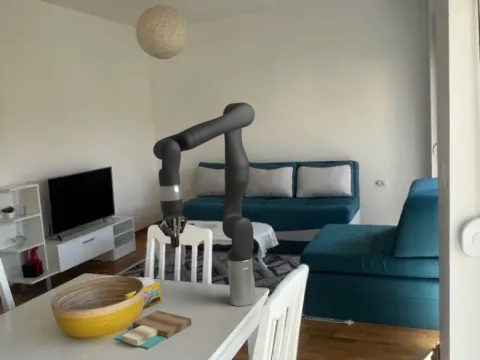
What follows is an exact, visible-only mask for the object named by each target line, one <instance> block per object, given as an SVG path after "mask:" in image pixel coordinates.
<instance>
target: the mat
mask: <svg viewBox="0 0 480 360" xmlns="http://www.w3.org/2000/svg"><path fill="white" fill-rule="evenodd" d="M133 329H134V328H133V327H132V328H131V329H130V330H127V331H125V332H124V333H122V334H120V335H117V336H116V337H115V338H114V339H115V340H116V341H119V342H120V341H121V342H122V335H124V334H126V333H128V332H130V331H132V330H133ZM166 339H167V338H166V337H163V336H159V335H156V336H155V337H153V338H151V339H150V340H148V341H146V342H144V343H143V344H141V345H139V346H138V347H141V348H143V349H146V350H149V349H151V348H152V347H154V346H156V345H158V344H159V343H160V342H163V341H165V340H166Z"/></svg>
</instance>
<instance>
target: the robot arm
mask: <svg viewBox="0 0 480 360" xmlns="http://www.w3.org/2000/svg"><path fill="white" fill-rule="evenodd" d="M255 112H256V111H255V109H254V108H253V106H252V105H251V104H249V103H246V102H241V101H239V102H232V103H229V104H227V105H226V106H225V108H224V109H223V111H222V115H220V116H218V117H216V118H215V117H214V118H213V119H210V120H205V121H204V122H203V121H202V122H201V123H197V124H195V125H193V126H190V127H188V128H186V129H184V130H181V131H180V132H178V133H176V134H175V133H174V134H172V135H169V136H166V137H164V138H161V139H159V140H158V141H156V142H155V144H154V145H153V148H152V152H153V155H154V156H155V158H157V159H158V160H161V168H160V169H159V170H158V184H159V203H160V212H161V213H162V215H163V217H162V222H161V223H158V225H157V227H158V228H159V230H160V231H161V232H162V234H163V235H164V236H165V237H169V239H170V246H171V247H172V248H173V249H177V248H179V247H180V235H181V234H183V233H184V230H185V228H186V226H187V222H188V221H189V220H188V217H185V216H183V210H184V204H183V202H184V201H183V191H182V186H181V177H180V168H181V167H180V166H181V159H182V152H186V151H190V150H194V149H196V148H197V147H199V146H202V145H204V144H205V143H207V142H209V141H211V140H213V139H215V138H218V137H219V136H223V138H224V174H223V175H224V177H223V178H224V207H223V215H222V232H223V234H224V235H225V237H226V238H228V239H230V240H231V249H228V251H227V254H226V256H227V268H228V269H227V270H228V283H229V298H230V304H231V305H233V306H236V307H246V306H250V305H252V304H254V303H255V301H256V286H255V275H254V269H253V251H254V248H255V247H254V238H255V237H254V227H253V223H252V221H251V220H250V219H249V218H246V217H243V213H242V210H243V206H242V205H243V200H244V196H245V194H246V191H247V189H248V185H249V181H250V162H249V157H248V156H247V152H246V150H245V147H244V144H243V137H242V136H243V135H242V134H243V128H247V127H248V126H250V125H251V124H252V123H253V122H254V119H255V116H256V115H255V114H256V113H255Z"/></svg>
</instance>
